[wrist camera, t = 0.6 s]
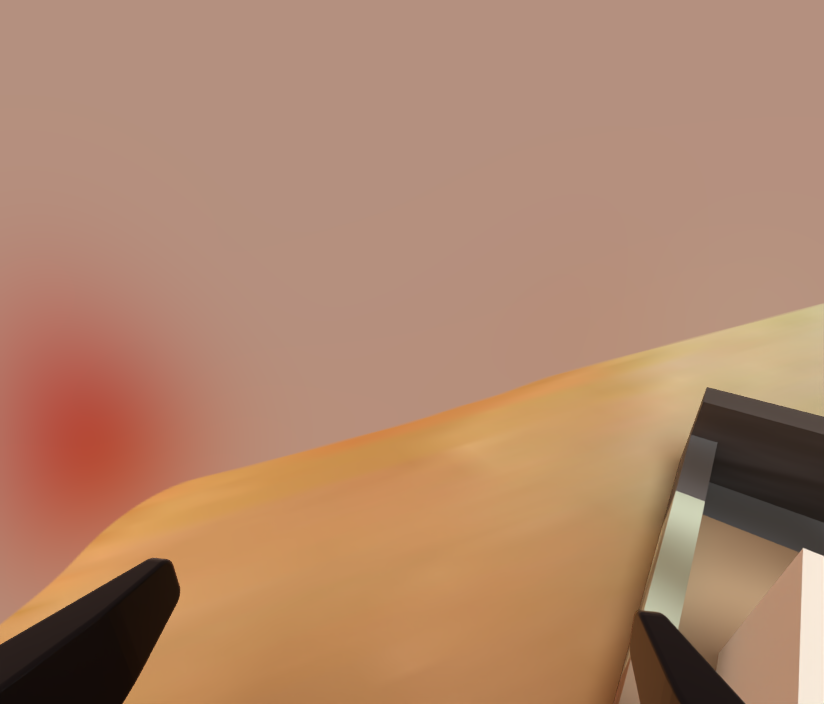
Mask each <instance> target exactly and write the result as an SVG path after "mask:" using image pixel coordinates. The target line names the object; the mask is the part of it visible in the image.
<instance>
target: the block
mask: <svg viewBox="0 0 824 704" xmlns="http://www.w3.org/2000/svg"><path fill="white" fill-rule="evenodd" d="M716 672H717V673H718V674H719V675H720V676H721V677H722V678H723V679H724V681H725V682H726V683H727V684H728V685H729V686H730V687H731V688H732V689H733V690H734V691H735V693H736V694H737V695H738V696H739V697H740V698H741V699H742V700H743V701H744V702H745V704H824V556H822V555H820V554H817V553H815V552H812V551H809V550H807V549H804V548H803V549H802V550H801V551H800V552H799V554H798V555H797V556H796V557H795V559H794V560H793V561H792V562H791V564H790V565H789V566H788V567H787V569H786V570H785V571H784V572H783V574H782V575H781V576H780V577H779V579H778V580H777V581H776V582H775V584H774V585H773V586H772V587H771V589H770V590H769V591H768V592H767V594H766V595H765V596H764V597H763V599H762V600H761V601H760V602H759V604H758V605H757V606H756V607H755V609H754V610H753V611H752V612H751V614H750V615H749V616H748V617H747V619H746V620H745V621H744V622H743V624H742V625H741V626H740V627H739V629H738V630H737V631H736V632H735V634H734V635H733V636H732V637H731V639H730V640H729V641H728V642H727V644H726V645H725V646H724V647H723V649H722V650H721V651H720V652H719V656H718V663H717V669H716Z"/></svg>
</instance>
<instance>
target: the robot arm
mask: <svg viewBox="0 0 824 704" xmlns="http://www.w3.org/2000/svg"><path fill="white" fill-rule="evenodd" d="M179 596H180V586H179V583H178V579H177V576H176V573H175V569H174V566H173V564H172V562H171V561H170V560H168V559H160V558H151V559H148V560H146V561H144V562H142V563H141V564H139V565H137V566H135V567H134V568H132V569H130V570H129V571H127V572H125V573H123V574H122V575H120V576H118V577H116V578H115V579H113V580H111V581H110V582H108V583H106V584H104V585H103V586H101V587H99V588H97V589H96V590H94V591H92V592H91V593H89V594H87V595H85V596H84V597H82V598H80V599H78V600H77V601H75V602H73V603H72V604H70V605H68V606H66V607H65V608H63V609H61V610H59V611H58V612H56V613H54V614H52V615H51V616H49V617H47V618H46V619H44V620H42V621H40V622H39V623H37V624H35V625H33V626H32V627H30V628H28V629H27V630H25V631H23V632H21V633H20V634H18V635H16V636H14V637H13V638H11V639H9V640H8V641H6V642H4V643H2V644H1V645H0V704H123V702H124V700H125V699H126V697H127V696H128V694H129V692H130V691H131V689H132V687H133V685H134V684H135V682H136V680H137V678H138V677H139V675H140V673H141V671H142V669H143V667H144V665H145V664H146V662H147V660H148V658H149V656H150V654H151V652H152V650H153V648H154V646H155V644H156V642H157V641H158V639H159V637H160V635H161V633H162V631H163V629H164V627H165V625H166V623H167V621H168V619H169V618H170V616H171V614H172V612H173V610H174V608H175V606H176V604H177V602H178V599H179ZM630 657H631V662H632V667H633V672H634V676H635V681H636V686H637V691H638V695H639V700H640V704H745V702H744V701H743V700H742V699H741V698H740V697H739V696H738V695H737V694H736V693H735V691H734V690H733V689H732V688H731V687H730V686H729V685H728V684H727V683H726V682H725V681H724V679H723V678H722V677H721V676H720V675H719V674H718V673H717V672H716V671H715V670H714V668H713V667H712V666H711V665H710V664H709V663H708V662H707V661H706V660H705V659H704V657H703V656H702V655H701V654H700V653H699V652H698V651H697V650H696V649H695V648H694V646H693V645H692V644H691V643H690V642H689V641H688V640H687V639H686V638H685V637H684V635H683V634H682V633H681V632H680V631H679V630H678V629H677V628H676V627H675V626H674V625H673V623H672V622H671V621H670V620H669V619H668V618H667V617H666V616H665V615H664V614H662V613H660V612H654V611H645V610H638V611H636V613H635V615H634V620H633V626H632V632H631V638H630Z"/></svg>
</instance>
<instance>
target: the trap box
mask: <svg viewBox="0 0 824 704" xmlns="http://www.w3.org/2000/svg"><path fill="white" fill-rule="evenodd" d="M803 548H804V549H807V550H809V551H812V552H815V553H817V554H820V555H822V556H824V417H822V416H818V415H815V414H811V413H807V412H803V411H799V410H795V409H791V408H787V407H783V406H779V405H775V404H771V403H767V402H763V401H760V400H756V399H752V398H748V397H744V396H740V395H736V394H732V393H728V392H724V391H720V390H716V389H712V388H708V387H707V388H706V391H705V394H704V397H703V399H702V402H701V405H700V408H699V410H698V413H697V416H696V419H695V421H694V424H693V427H692V430H691V432H690V435H689V438H688V441H687V443H686V446H685V449H684V452H683V454H682V457H681V460H680V464H679V467H678V471H677V474H676V478H675V482H674V485H673V489H672V493H671V496H670V500H669V503H668V507H667V511H666V514H665V518H664V522H663V525H662V529H661V532H660V536H659V540H658V543H657V547H656V551H655V554H654V558H653V561H652V565H651V569H650V572H649V576H648V580H647V583H646V587H645V590H644V594H643V598H642V601H641V605H640V609H639V610H645V611H654V612H660V613H662V614H664V615H665V616H666V617H667V618H668V619H669V620H670V621H671V622H672V623H673V625H674V626H675V627H676V628H677V629H678V630H679V631H680V632H681V633H682V634H683V635H684V637H685V638H686V639H687V640H688V641H689V642H690V643H691V644H692V645H693V646H694V648H695V649H696V650H697V651H698V652H699V653H700V654H701V655H702V656H703V657H704V659H705V660H706V661H707V662H708V663H709V664H710V665H711V666H712V667H713V668H714V670H715V671H716V669H717V663H718V656H719V652H720V651H721V650H722V649H723V647H724V646H725V645H726V644H727V642H728V641H729V640H730V639H731V637H732V636H733V635H734V634H735V632H736V631H737V630H738V629H739V627H740V626H741V625H742V624H743V622H744V621H745V620H746V619H747V617H748V616H749V615H750V614H751V612H752V611H753V610H754V609H755V607H756V606H757V605H758V604H759V602H760V601H761V600H762V599H763V597H764V596H765V595H766V594H767V592H768V591H769V590H770V589H771V587H772V586H773V585H774V584H775V582H776V581H777V580H778V579H779V577H780V576H781V575H782V574H783V572H784V571H785V570H786V569H787V567H788V566H789V565H790V564H791V562H792V561H793V560H794V559H795V557H796V556H797V555H798V554H799V552H800V551H801V550H802V549H803ZM613 704H640V700H639V695H638V691H637V686H636V681H635V676H634V672H633V667H632V662H631V657H630V645H629V648H628V652H627V656H626V659H625V663H624V667H623V670H622V674H621V677H620V681H619V685H618V688H617V692H616V696H615V699H614V703H613Z"/></svg>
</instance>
